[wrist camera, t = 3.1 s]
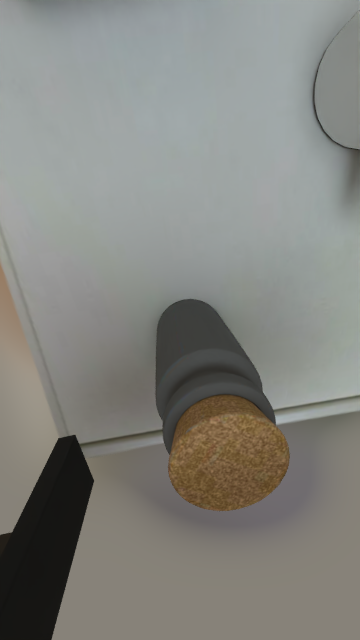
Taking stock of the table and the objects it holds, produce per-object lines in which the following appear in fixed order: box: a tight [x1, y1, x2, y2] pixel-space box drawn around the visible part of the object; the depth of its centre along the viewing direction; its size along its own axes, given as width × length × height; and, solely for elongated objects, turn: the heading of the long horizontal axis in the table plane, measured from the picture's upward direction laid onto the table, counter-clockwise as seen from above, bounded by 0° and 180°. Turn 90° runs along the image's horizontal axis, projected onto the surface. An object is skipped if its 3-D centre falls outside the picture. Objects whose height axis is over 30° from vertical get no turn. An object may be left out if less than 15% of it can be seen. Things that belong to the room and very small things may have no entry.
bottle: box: [156, 299, 290, 511], centre depth 18 cm, size 6×6×15 cm
